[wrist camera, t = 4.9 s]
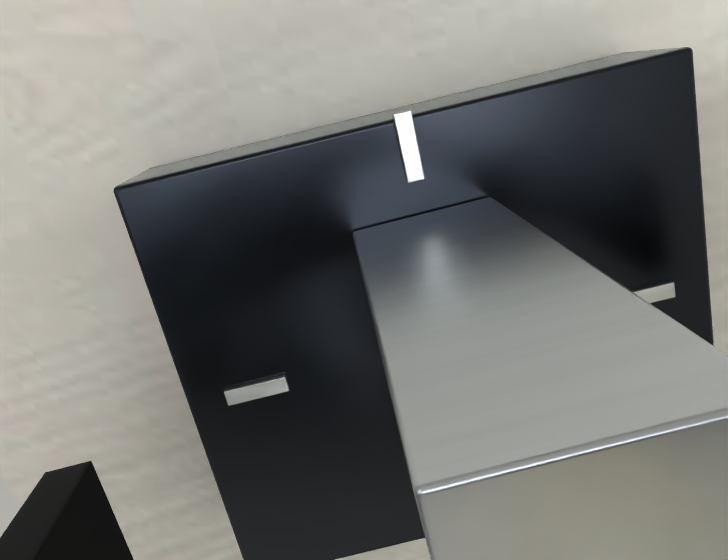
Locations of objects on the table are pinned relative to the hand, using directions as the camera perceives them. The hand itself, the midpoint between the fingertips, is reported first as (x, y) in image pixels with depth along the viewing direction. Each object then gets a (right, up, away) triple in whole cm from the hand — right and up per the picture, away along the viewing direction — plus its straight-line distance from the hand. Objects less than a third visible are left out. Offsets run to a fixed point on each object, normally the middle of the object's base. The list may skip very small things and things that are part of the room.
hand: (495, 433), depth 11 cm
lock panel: (0, +2, +7) cm, 7 cm away
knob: (0, +1, +4) cm, 4 cm away
